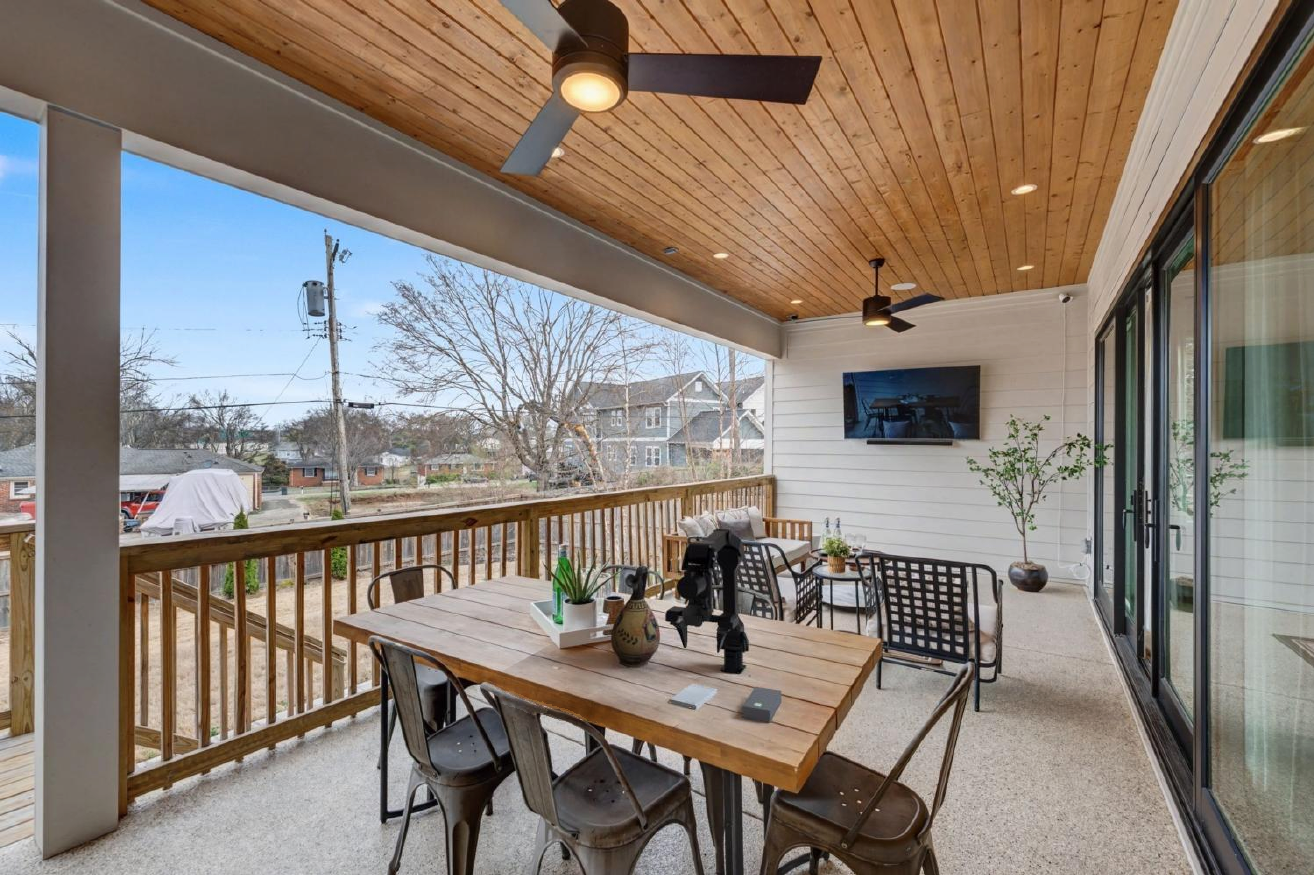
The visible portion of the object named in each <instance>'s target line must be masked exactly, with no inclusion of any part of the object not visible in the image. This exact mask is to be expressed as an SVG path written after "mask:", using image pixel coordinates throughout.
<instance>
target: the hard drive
mask: <svg viewBox="0 0 1314 875" xmlns="http://www.w3.org/2000/svg"><path fill="white" fill-rule="evenodd" d="M717 693H718V689H717V688H713V687H709V686H705V685H700V684H696V683H690V684H689V685H687V686H686V687H685V688H683V689H682V690H680V691H679V692H678V693H676V694H675V695H674V696H672V697H670V698H669V700H668V702H671V703H670V704H672V703H674V705H676V704H677V705H676V706H680V707H684V708H688V707H691V708H690V709H692V708H694V709H693V710H695V709H697V710H698V709H699V708H701V706H703V705H704V704H705V703H707V702H708V701H709V700H710V699H712V698H713V697H714V696H715V695H716V694H717Z"/></svg>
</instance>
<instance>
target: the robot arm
mask: <svg viewBox="0 0 1314 875" xmlns="http://www.w3.org/2000/svg"><path fill="white" fill-rule="evenodd" d="M683 555H684V556H683V560H682V563H681V568H680V569H681V571H684V573H683V576H682V577H681V578H679V579H678V581H677V584H676V590H677V593H678V595H679V596H680V597H681V598H683V600H688V602H687V605H686V606H684V607H683V606H677V605H676V606H674V605H673V606H672V607H670V608H669V609H667V610H666V612H665V614H664V621H665V622H668V623H669V624H670V625H671V626H673V627H674V628H675V629H676V631H677V633H678V636H679V638H680V641H681V643H682V646H683V648H684V649H687V647H688V626H691V627H695V628H700V627H701V626H702V625H703V623H705V622H706V623H716V624H717V627H716V628H717V629H716V654H719V653H720V652H721V650H723V665H722V666H721V667H720V668H719V669H720V671H721V672H727V673H734V674H742V673H743V672H744V671H745V669H746V668H747V665H746V664H743V663H744V659H743V658H744V654H743V653H746V652H749V651H750V640H749V637H748V635H747V632H745V625H744V623H743V620H742V619H741V618H740V616H739V579H738V578H739V576H738V573H739V572H738V568H739V567H740V565H741V564H742V562H743V560H744V559H743V558H744V555H745V546H744V542H742V539H741V538H740V537H739V536H737V535H736V534H734V533H733V531H732V530H731V529H728V528H716V529H713V531H712V532H711V534H709V535H708V536H706V537H705V538H704V539H703V540H695V541H691V542H689V543H688V546H686V548H685V552H684V554H683ZM716 564H717V565H718V566H719V568H720V570H721V573H722V574H721V577H722V578H721V579H722V581H721V582H722V584H721V585H722V587H721V588H722V613H720V614H719V615H718V614H714V612H715V611H714V608H713V598H714V592H713V570H714V569H715V566H716Z"/></svg>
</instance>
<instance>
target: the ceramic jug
mask: <svg viewBox="0 0 1314 875" xmlns="http://www.w3.org/2000/svg"><path fill="white" fill-rule="evenodd" d="M648 570H649V569H648V567H647V566H646V565H641V566H638V567H637V568H636V570H635V575H634V574H632V573H630V574H628V575H626V577H625V584H626V586H627V587H629V588H630V589H632V593H631V595H630V597H629V599H628V600H627V602H626V603H625V604H624V606H623V607H622V608H621V610H620V612H619V613H618V615H617V617H616V618H615V620H614V624H613V625H612V630H611V634H610V643H611V646H612V650H613V651H614V653H615V655H616V656H617V658H618V660H619V661H618V663H619V664H620V665H623V667H625V666H626V667H625V668H642V667H641V666H643V667H645V666H647V665H648V664H649V662H650V660H651V659H652V657H653V656H654V654H655V653H656V652H657V651H658V648H659V645H660V641H661V633H660V626H659V624H658V620H657V617H656V616H655V613H654V612H653V611H652V609H651V607H650V605H649V604H648V602H647V601H646V599H645V592H646V588H647V582H648V575H649V574H648V573H649V571H648ZM644 665H645V666H644Z"/></svg>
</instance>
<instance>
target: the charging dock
mask: <svg viewBox="0 0 1314 875" xmlns="http://www.w3.org/2000/svg"><path fill="white" fill-rule="evenodd" d="M781 704H782V690H779V689H772V688H766V687H759V686H755V687H754V688H753V690H752V691H751V693H750V694H749V695H748V696H747V698H746V699H745V700H743V702H742V706H741V708H742V709H741V710H742V719H746V720H752V721H758V722H762V723H767V724H771V722H772V720H773V719H774V716H775V715H776V713H777V711H778V709H779V708H780V705H781ZM778 707H779V708H778Z"/></svg>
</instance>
